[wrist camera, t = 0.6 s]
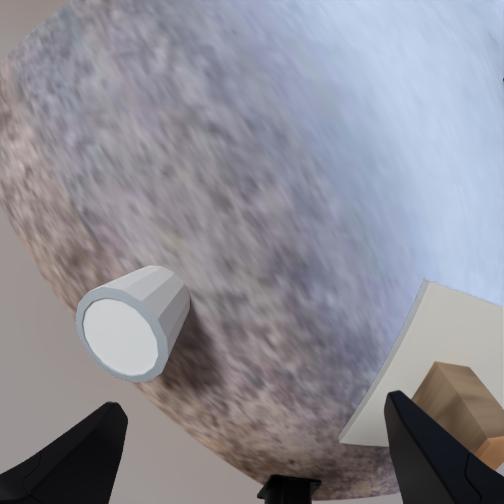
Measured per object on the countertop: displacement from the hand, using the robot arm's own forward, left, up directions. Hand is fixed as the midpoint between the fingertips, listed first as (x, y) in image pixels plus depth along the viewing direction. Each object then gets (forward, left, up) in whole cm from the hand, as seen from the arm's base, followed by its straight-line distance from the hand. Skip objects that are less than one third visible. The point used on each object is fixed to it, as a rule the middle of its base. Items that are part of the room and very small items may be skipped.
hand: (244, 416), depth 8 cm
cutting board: (-5, -24, -14) cm, 29 cm away
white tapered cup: (-4, +8, -14) cm, 17 cm away
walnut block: (-5, -19, -13) cm, 24 cm away
